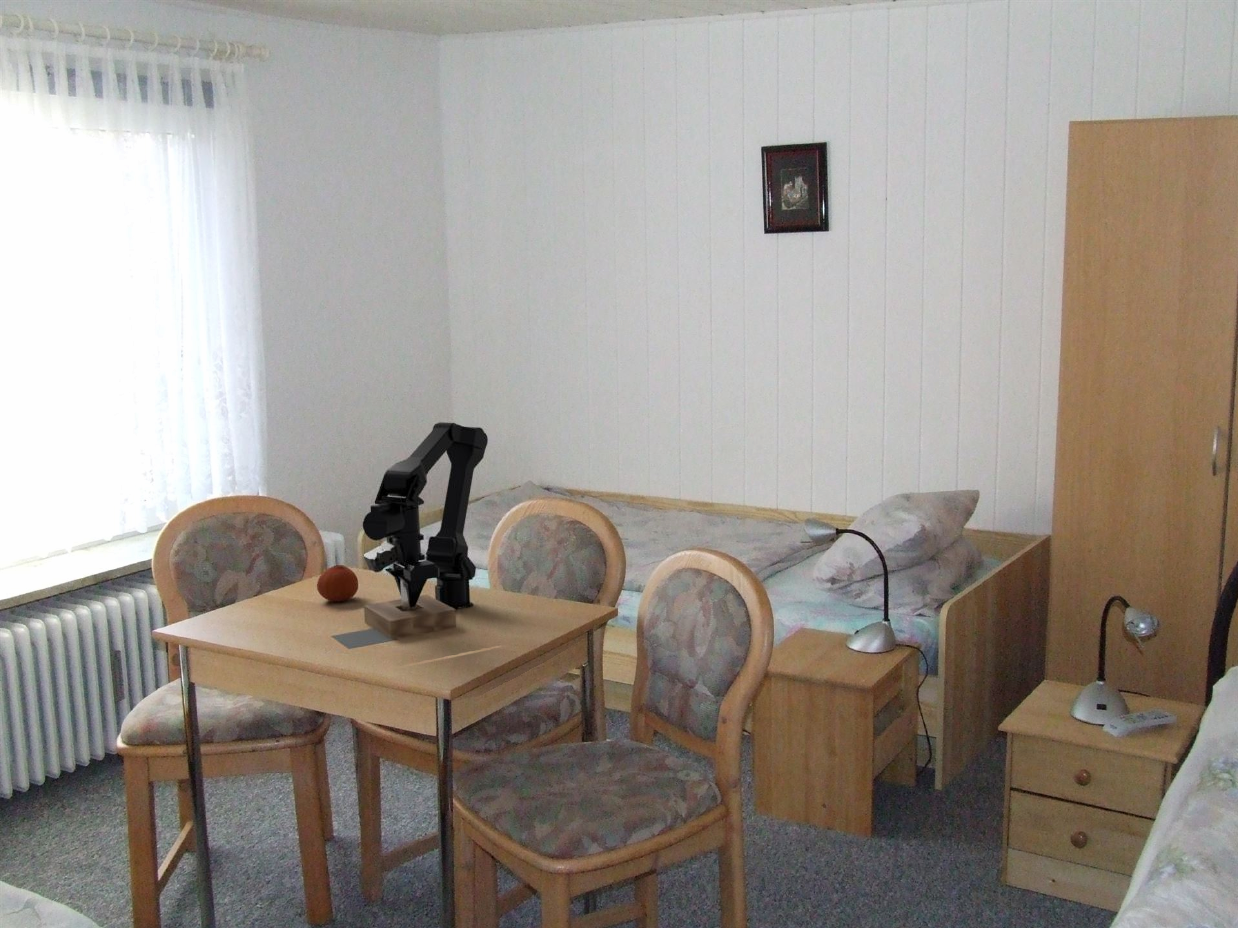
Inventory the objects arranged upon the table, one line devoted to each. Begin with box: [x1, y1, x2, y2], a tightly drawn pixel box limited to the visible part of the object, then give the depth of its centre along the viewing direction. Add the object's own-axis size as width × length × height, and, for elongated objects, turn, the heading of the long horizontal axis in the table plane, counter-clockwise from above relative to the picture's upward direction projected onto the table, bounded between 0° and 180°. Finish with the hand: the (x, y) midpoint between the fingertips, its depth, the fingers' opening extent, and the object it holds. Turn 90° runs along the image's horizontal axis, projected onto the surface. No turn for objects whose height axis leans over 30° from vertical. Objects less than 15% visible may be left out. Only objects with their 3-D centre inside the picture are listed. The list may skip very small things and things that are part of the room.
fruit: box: [316, 564, 359, 603], centre depth 275 cm, size 9×9×8 cm
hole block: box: [363, 594, 457, 639], centre depth 254 cm, size 14×14×4 cm
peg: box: [400, 575, 417, 612], centre depth 254 cm, size 3×3×10 cm
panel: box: [331, 627, 399, 650], centre depth 246 cm, size 10×10×1 cm
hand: (409, 604), depth 254 cm, fingers closed on peg, 3 cm apart
